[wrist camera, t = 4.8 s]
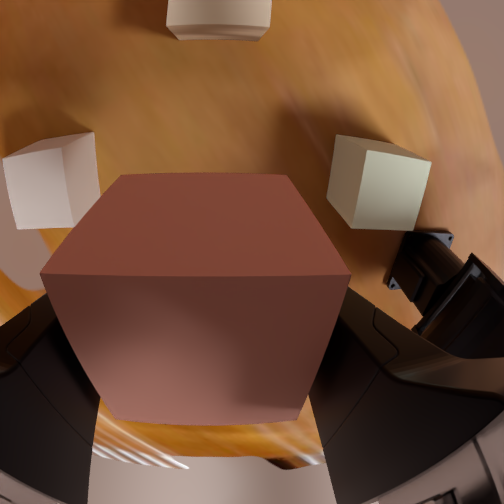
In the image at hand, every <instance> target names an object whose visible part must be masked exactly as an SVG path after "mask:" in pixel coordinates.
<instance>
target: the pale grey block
mask: <svg viewBox="0 0 504 504" xmlns="http://www.w3.org/2000/svg"><path fill="white" fill-rule="evenodd" d="M2 161H3V168H4V173H5V179H6V184H7V189H8V194H9V198H10V202H11V207H12V211H13V215H14V219H15V223H16V226H17V229H38V228H65V227H75V226H76V225H77V223H78V222H79V221H80V220H81V219H82V217H83V216H84V215H85V214H86V213H87V212H88V210H89V209H90V208H91V207H92V206H93V205H94V204H95V202H96V201H97V200H98V199H99V198H100V197H101V196H100V188H99V180H98V171H97V162H96V151H95V137H94V132H88V133H80V134H74V135H67V136H61V137H55V138H50V139H44V140H40V141H37V142H35V143H33V144H31V145H29V146H26V147H24V148H22V149H20V150H18V151H16V152H14V153H12V154H10V155H8V156H6V157H5V158H3V159H2Z"/></svg>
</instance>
